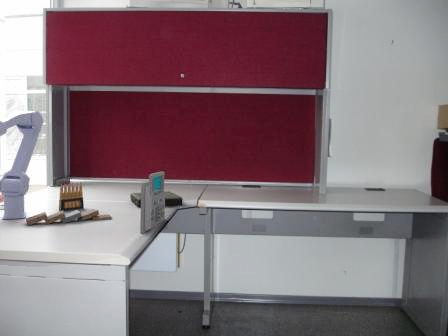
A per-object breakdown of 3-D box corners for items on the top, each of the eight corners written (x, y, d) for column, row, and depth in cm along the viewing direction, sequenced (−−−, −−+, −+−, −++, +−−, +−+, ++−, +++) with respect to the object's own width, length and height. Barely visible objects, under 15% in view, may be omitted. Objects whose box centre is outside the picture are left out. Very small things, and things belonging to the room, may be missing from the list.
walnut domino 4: (90, 215, 159) (108, 214, 162) (90, 220, 159) (108, 218, 162) (93, 218, 155) (111, 216, 158) (93, 222, 155) (111, 221, 158)
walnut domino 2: (44, 217, 151) (63, 210, 154) (46, 221, 152) (64, 214, 154) (44, 220, 147) (63, 213, 149) (46, 224, 147) (65, 217, 150)
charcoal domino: (59, 216, 153) (76, 209, 157) (60, 221, 154) (78, 214, 157) (62, 219, 149) (80, 212, 153) (63, 223, 149) (81, 216, 153)
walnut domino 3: (76, 215, 157) (92, 209, 162) (77, 219, 157) (93, 213, 162) (82, 216, 153) (98, 210, 158) (83, 220, 154) (99, 214, 159)
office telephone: (146, 234, 136) (147, 177, 135) (139, 234, 137) (140, 176, 135) (168, 220, 159) (168, 171, 157) (161, 220, 160) (162, 170, 158)
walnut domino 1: (26, 218, 149) (45, 211, 152) (27, 222, 149) (46, 216, 152) (25, 221, 144) (45, 214, 147) (27, 225, 145) (47, 218, 148)
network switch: (187, 206, 191) (187, 196, 191) (140, 210, 179) (140, 199, 178) (168, 199, 211) (168, 190, 211) (124, 202, 199) (124, 192, 198)
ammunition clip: (60, 211, 171) (60, 184, 170) (58, 211, 172) (58, 183, 171) (83, 208, 179) (83, 182, 178) (81, 208, 180) (81, 181, 179)
